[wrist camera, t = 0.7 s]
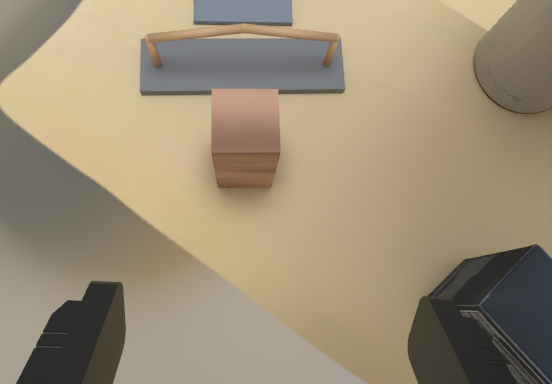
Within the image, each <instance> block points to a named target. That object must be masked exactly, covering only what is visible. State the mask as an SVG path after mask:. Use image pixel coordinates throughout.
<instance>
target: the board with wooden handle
mask: <svg viewBox="0 0 552 384" xmlns="http://www.w3.org/2000/svg"><path fill="white" fill-rule="evenodd" d="M239 33H250V34H259V35H268V36H277V37H287V38H296V39H193V38H202V37H212V36H221V35H230V34H239ZM212 89H278V94H288V93H343V92H344V90H345V83H344V71H343V59H342V47H341V38H340V36H339V35H338V34H334V33H325V32H316V31H307V30H298V29H290V28H281V27H272V26H263V25H254V24H246V23H243V24H234V25H225V26H216V27H207V28H198V29H189V30H180V31H170V32H161V33H152V34H147V35H146V36H145V39H141V73H140V92H141V94H142V95H200V94H212Z"/></svg>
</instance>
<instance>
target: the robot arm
mask: <svg viewBox="0 0 552 384" xmlns="http://www.w3.org/2000/svg"><path fill="white" fill-rule="evenodd" d="M474 65H475V72H476V75H477V78H478V81H479V83H480V84H481V86H482V88H483V89H484V91H485V92H486V93H487V94H488V95H489V97H490V98H492V99H493V100H494V101H495V102H496V103H498V104H499V105H501V106H503V107H505V108H507V109H509V110H512V111H515V112H521V113H537V112H540V111H544V110H546V109H548V108H550V107H551V106H552V0H517V2H516V3H515V4H514V5H513V6H512V7H511V8H510V9H509V10H508V11H507V12H506V13H505V14H504V15H503V17H501V18H500V20H499V21H498V22H497V23H496V24H495V25H494V26H493V27H492V28H491V29H490V30H489V31H488V32H487V34H486V35H485V36H484V37H483V38H482V40H481V41H480V42H479V44H478V47H477V49H476V52H475V58H474ZM125 327H126V325H125V311H124V295H123V285H122V283H121V282H105V281H91V282H90V284H89V286H88V288H87V290H86V293H85V295H84V297H83V299H82V301H71V300H68V301H67V302H65V303H64V304H63V305H62V306H61V307H60V308H58V309H57V310H56V311H55V312H54V313H53V314H52V315H51V317H50V319H49V321H48V323H47V325H46V327H45V329H44V331H43V334H42V335H41V336H40V338H39V340H38V342H37V344H36V348H34V350H33V352H32V354H31V356H30V358H29V360H28V362H27V364H26V365H25V367H24V369H23V371H22V373H21V375H20V377H19V379H18V381H17V383H16V384H113V381H114V378H115V375H116V371H117V368H118V364H119V361H120V358H121V354H122V351H123V347H124V341H125V331H126V328H125ZM408 355H409V360H410V363H411V365H412V368H413V371H414V373H415V376H416V379H417V381H418V384H517V382H516V380H515V379H514V377H513V375H512V374H511V372H510V370H509V369H508V367H507V365H506V364H504V360H503V359H502V357H501V355H500V354H499V352H498V351H496V347H495V345H494V343H493V342H492V340H491V338H490V337H489V335H488V333H487V332H486V331H485V330H484V329H483V328H482V327H481V326H480V325H479V324H478V323H476V322H475V321H474V320H473V319H472V318H471V317H463V315H462V314H461V312H460V310H459V308H458V306H457V305H456V303H455V301H454V300H453V299H452V298H450V297H428V296H424V297H422V298H421V300H420V302H419V305H418V308H417V311H416V315H415V318H414V321H413V325H412V328H411V331H410V334H409V338H408Z"/></svg>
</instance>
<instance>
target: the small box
mask: <svg viewBox="0 0 552 384" xmlns="http://www.w3.org/2000/svg"><path fill="white" fill-rule="evenodd" d="M428 297H450V298H452V299H453V300H454V301H455V303H456V305H457V306H458V308H459V310H460V312H461V314H462V315H463V317H471V318H472V319H473V320H474V321H475V322H476V323H478V324H479V325H480V326H481V327H482V328H483V329H484V330H485V331H486V332H487V333H488V335H489V337H490V338H491V340H492V342H493V343H494V345H495V347H496V351H498V352H499V354H500V355H501V357H502V359H503V360H504V364H506V365H507V367H508V369H509V370H510V372H511V374H512V375H513V377H514V379H515V380H516V382H517V384H552V258H551V257H550V256H549V255H548V254H547V253H546V252H545V251H544V250H543V249H542V248H541V247H540V246H539V245H537V244H536V245H532V246H528V247H524V248H518V249H514V250H509V251H505V252H500V253H495V254H490V255H485V256H480V257H476V258H471V259H465V260H464V261H463V262H462V263H461V264H460V265H459V266H458V267H457V268H456V269H455V270H454V271H453V272H452V273H451V274H450V275H449V276H447V278H446V279H445V280H443V281H442V283H441V284H440V285H439V286H438V287H437V288H436V289H435V290H434V291H433V292H432V293H430V294H429V295H428Z"/></svg>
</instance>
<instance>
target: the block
mask: <svg viewBox="0 0 552 384" xmlns="http://www.w3.org/2000/svg"><path fill="white" fill-rule="evenodd" d="M279 155H280V127H279V96H278V89H212V157H213V163H214V168H215V174H216V179H217V184H218V188H240V187H271V184H272V181H273V177H274V173H275V170H276V166H277V163H278V159H279Z"/></svg>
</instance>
